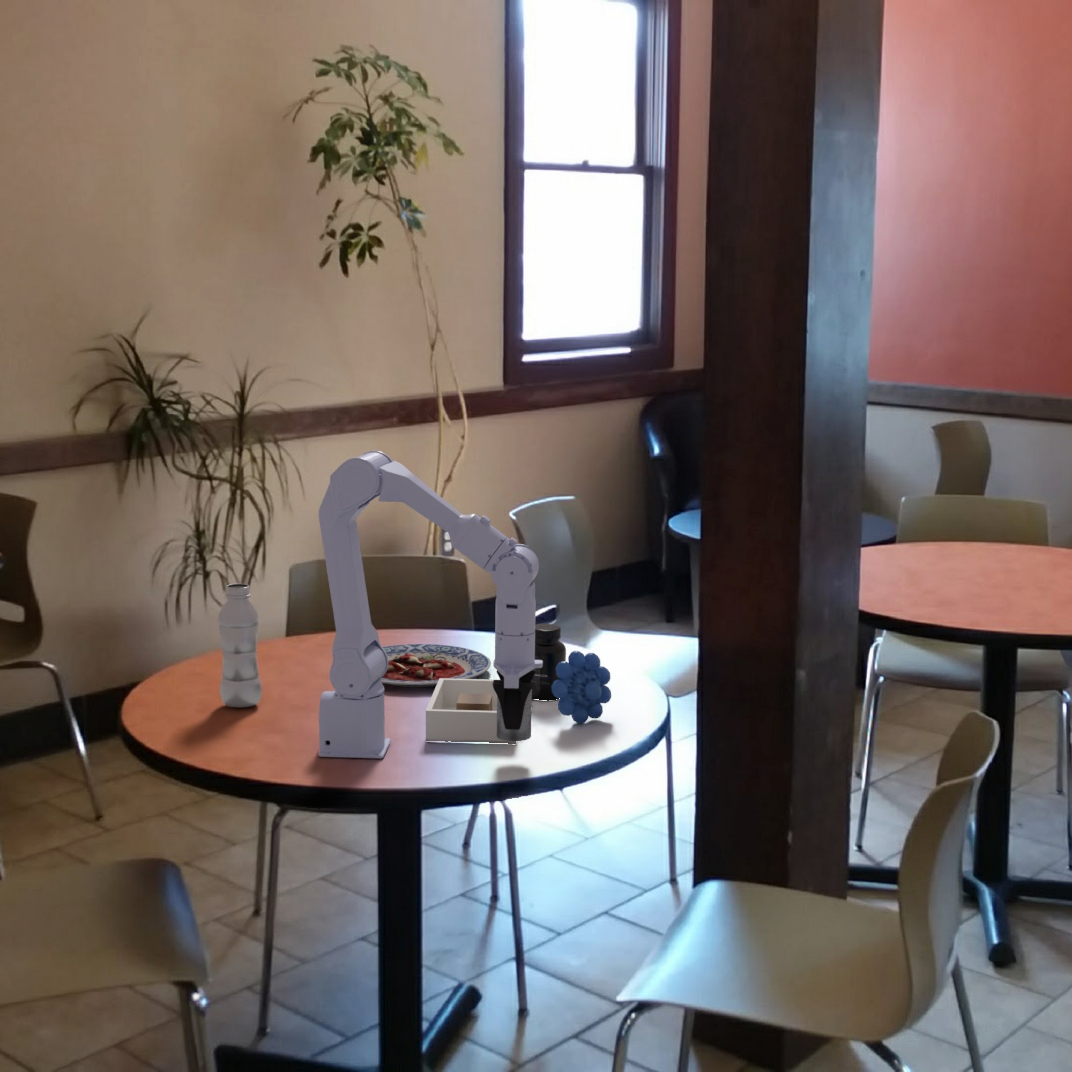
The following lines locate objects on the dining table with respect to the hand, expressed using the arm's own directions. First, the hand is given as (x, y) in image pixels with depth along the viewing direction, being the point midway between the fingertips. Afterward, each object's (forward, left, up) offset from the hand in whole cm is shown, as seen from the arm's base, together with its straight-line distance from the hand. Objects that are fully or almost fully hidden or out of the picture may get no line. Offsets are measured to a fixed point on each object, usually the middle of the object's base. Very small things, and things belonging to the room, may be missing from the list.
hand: (513, 722), depth 204 cm
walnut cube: (-7, +12, -5) cm, 15 cm away
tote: (-7, +16, -6) cm, 18 cm away
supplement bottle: (+3, +33, -6) cm, 34 cm away
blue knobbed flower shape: (+10, +18, -6) cm, 21 cm away
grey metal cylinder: (0, 0, -2) cm, 2 cm away
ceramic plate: (-20, +45, -6) cm, 50 cm away
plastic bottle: (-46, +23, -6) cm, 52 cm away
